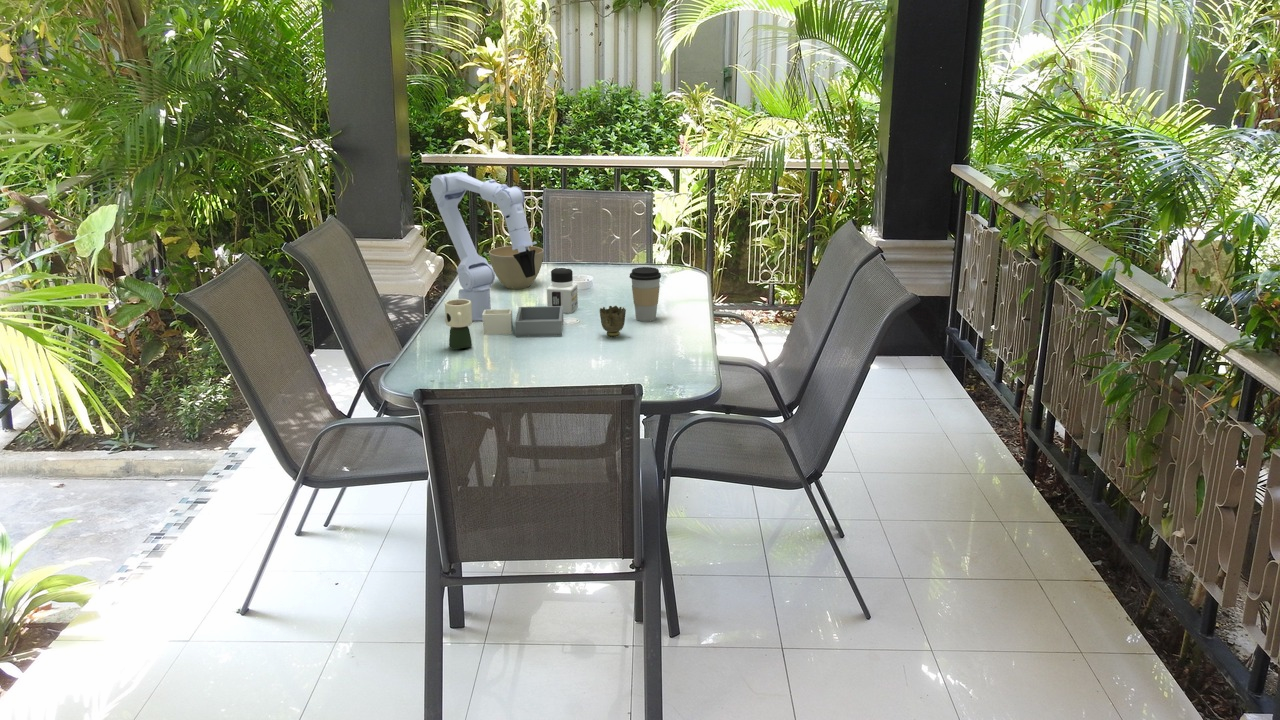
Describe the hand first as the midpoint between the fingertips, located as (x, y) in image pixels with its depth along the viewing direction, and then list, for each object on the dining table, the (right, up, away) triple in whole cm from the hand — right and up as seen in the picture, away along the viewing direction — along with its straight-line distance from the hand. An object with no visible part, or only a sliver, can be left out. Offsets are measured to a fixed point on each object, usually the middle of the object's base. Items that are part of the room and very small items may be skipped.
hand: (530, 276), depth 304 cm
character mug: (-18, -21, -10) cm, 29 cm away
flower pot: (-10, +1, +55) cm, 56 cm away
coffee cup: (+33, -12, +16) cm, 38 cm away
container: (+7, -8, +26) cm, 28 cm away
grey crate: (+2, -15, +7) cm, 16 cm away
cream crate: (-10, -16, +5) cm, 19 cm away
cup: (+23, -17, -1) cm, 29 cm away
